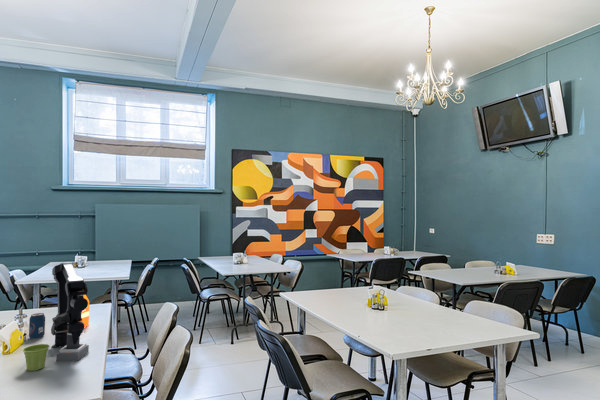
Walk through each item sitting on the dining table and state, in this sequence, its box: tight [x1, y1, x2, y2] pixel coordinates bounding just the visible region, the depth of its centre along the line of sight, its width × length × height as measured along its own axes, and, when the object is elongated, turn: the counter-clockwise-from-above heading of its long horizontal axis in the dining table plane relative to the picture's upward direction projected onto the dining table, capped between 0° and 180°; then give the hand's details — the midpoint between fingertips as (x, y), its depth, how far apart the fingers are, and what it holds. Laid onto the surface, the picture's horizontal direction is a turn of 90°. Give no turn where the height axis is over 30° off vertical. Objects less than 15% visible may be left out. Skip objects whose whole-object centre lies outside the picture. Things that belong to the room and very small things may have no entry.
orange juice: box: [81, 295, 90, 328], centre depth 223 cm, size 8×9×20 cm
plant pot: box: [22, 343, 50, 372], centre depth 164 cm, size 9×9×9 cm
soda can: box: [28, 312, 46, 340], centre depth 204 cm, size 7×7×12 cm
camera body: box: [55, 343, 90, 363], centre depth 177 cm, size 11×9×5 cm
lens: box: [67, 332, 81, 349], centre depth 177 cm, size 5×5×8 cm
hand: (73, 341), depth 177 cm, fingers open, 9 cm apart
